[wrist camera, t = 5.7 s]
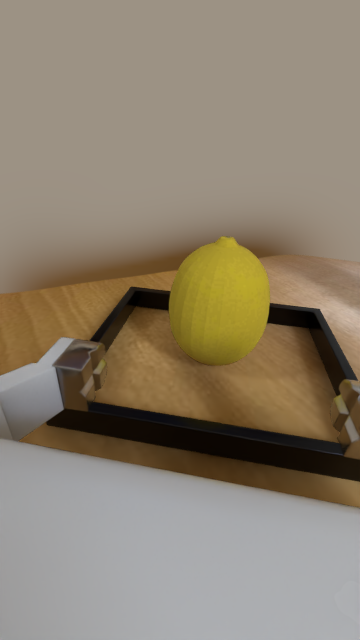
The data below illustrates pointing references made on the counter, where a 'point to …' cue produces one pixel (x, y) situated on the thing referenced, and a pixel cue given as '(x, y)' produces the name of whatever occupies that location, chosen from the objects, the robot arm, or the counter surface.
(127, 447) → the counter surface
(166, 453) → the counter surface
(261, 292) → the lemon
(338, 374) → the black square frame
